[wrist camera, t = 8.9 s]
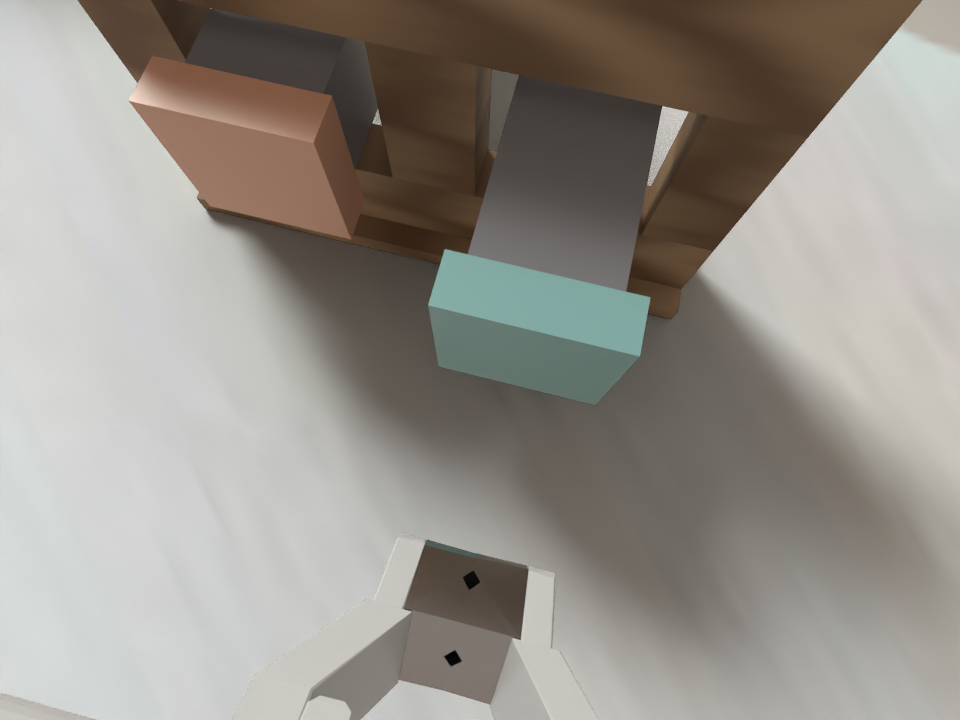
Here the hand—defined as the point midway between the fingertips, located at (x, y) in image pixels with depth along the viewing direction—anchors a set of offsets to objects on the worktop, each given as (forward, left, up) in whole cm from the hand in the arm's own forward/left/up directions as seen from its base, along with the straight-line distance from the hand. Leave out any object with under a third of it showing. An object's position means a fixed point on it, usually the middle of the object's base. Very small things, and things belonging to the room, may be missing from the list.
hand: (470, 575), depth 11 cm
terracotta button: (+9, -13, -6) cm, 17 cm away
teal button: (0, -9, -6) cm, 11 cm away
